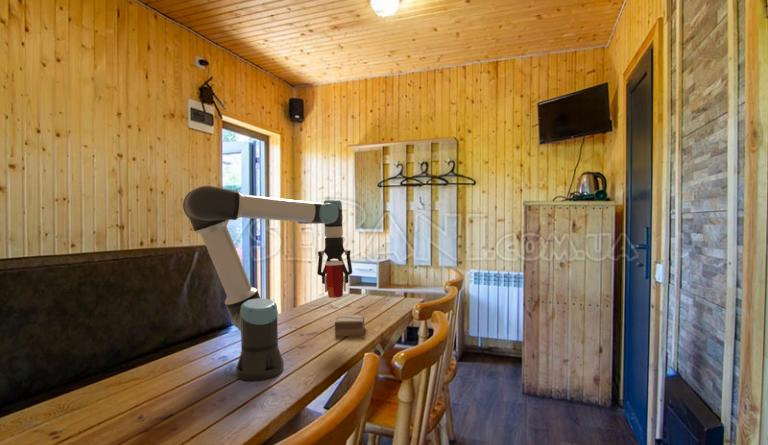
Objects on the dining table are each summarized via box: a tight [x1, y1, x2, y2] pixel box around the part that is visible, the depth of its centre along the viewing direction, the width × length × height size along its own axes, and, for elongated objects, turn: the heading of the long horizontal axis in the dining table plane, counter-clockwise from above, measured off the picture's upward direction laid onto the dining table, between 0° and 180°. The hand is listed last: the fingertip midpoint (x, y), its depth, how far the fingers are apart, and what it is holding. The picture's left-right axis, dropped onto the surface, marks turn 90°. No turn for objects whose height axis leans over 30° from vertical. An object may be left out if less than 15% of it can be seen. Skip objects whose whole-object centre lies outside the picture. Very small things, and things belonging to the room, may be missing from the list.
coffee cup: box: [324, 259, 345, 299], centre depth 153 cm, size 8×8×15 cm
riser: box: [334, 314, 365, 337], centre depth 164 cm, size 12×12×6 cm
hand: (335, 291), depth 153 cm, fingers closed on coffee cup, 7 cm apart
